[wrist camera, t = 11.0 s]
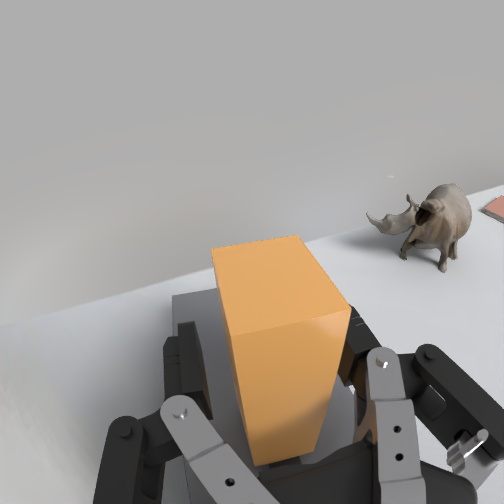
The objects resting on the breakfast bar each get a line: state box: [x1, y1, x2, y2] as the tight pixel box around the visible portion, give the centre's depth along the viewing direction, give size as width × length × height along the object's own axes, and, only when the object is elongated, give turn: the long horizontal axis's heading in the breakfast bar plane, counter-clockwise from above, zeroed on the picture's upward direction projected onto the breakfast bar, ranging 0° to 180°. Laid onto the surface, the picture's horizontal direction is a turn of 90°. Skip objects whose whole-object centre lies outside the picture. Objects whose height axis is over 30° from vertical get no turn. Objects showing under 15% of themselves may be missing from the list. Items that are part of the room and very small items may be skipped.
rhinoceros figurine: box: [366, 184, 472, 273], centre depth 32 cm, size 8×14×15 cm
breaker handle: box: [211, 235, 352, 467], centre depth 11 cm, size 3×4×10 cm
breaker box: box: [172, 288, 355, 504], centre depth 18 cm, size 10×20×4 cm, turn 13°
